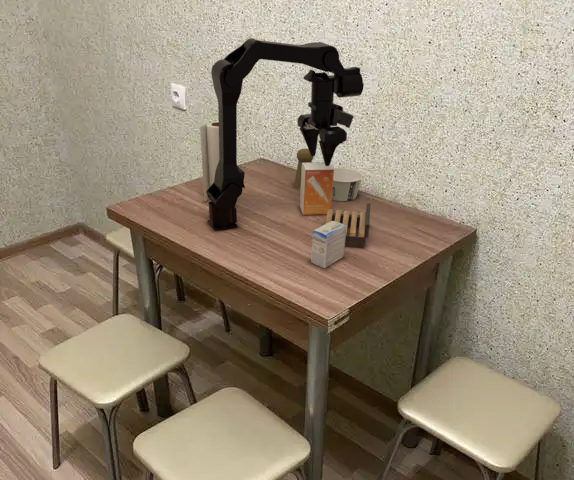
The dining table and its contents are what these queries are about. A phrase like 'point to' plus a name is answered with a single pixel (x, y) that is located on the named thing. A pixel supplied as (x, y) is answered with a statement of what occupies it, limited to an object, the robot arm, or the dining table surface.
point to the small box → (316, 188)
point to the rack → (352, 225)
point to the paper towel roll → (209, 153)
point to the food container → (345, 184)
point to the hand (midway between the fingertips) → (320, 160)
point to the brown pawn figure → (302, 157)
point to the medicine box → (328, 244)
